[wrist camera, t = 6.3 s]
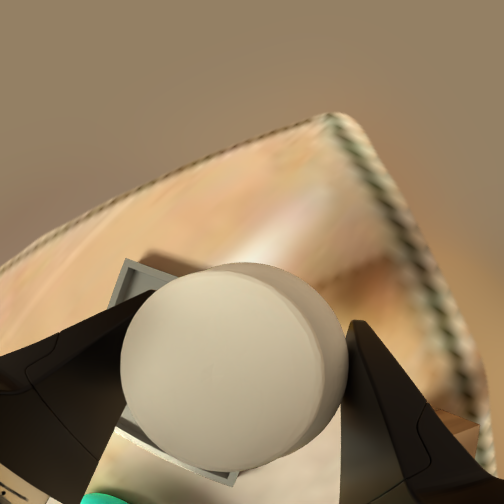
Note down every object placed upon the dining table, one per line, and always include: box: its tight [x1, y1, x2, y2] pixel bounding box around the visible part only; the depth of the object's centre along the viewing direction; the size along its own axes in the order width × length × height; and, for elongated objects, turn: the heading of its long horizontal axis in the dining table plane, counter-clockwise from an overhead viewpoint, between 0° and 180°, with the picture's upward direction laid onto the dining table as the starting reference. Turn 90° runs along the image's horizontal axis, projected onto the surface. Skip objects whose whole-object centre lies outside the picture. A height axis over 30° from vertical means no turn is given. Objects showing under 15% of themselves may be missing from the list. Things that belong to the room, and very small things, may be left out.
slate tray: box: [107, 258, 240, 487], centre depth 20 cm, size 14×14×2 cm
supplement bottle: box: [120, 262, 349, 472], centre depth 9 cm, size 6×6×10 cm
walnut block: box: [435, 410, 480, 459], centre depth 14 cm, size 4×4×6 cm
